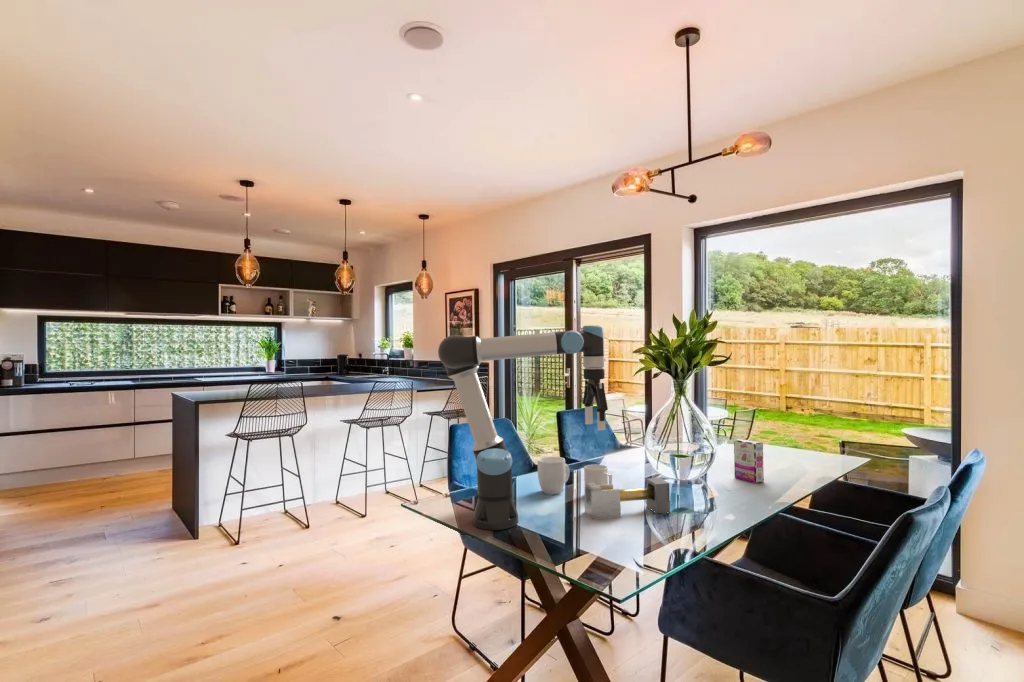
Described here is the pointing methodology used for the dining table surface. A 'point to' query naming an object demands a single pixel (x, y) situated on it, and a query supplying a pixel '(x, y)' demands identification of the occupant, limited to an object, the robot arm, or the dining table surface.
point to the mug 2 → (597, 474)
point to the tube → (637, 494)
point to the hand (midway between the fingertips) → (595, 427)
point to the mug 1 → (552, 474)
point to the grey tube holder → (602, 501)
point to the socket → (659, 495)
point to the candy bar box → (748, 460)
